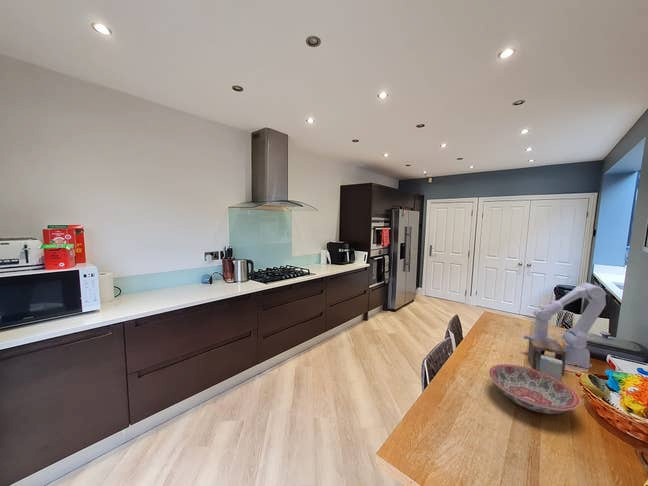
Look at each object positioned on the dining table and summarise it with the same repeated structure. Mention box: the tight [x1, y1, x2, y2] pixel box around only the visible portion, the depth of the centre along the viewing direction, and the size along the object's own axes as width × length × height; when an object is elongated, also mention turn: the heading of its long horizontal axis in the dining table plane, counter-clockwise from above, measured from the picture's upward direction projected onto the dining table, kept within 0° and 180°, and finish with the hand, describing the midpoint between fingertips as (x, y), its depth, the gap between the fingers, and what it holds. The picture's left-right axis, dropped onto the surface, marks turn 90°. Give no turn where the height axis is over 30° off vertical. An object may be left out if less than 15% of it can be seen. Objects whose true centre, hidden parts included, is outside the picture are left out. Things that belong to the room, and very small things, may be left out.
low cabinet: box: [527, 338, 566, 376], centre depth 131 cm, size 12×10×12 cm
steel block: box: [535, 349, 542, 371], centre depth 137 cm, size 2×27×6 cm, turn 138°
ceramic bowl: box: [488, 363, 581, 415], centre depth 105 cm, size 29×29×8 cm
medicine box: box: [540, 354, 562, 382], centre depth 123 cm, size 8×4×9 cm, turn 48°
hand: (538, 353), depth 142 cm, fingers closed on steel block, 2 cm apart
